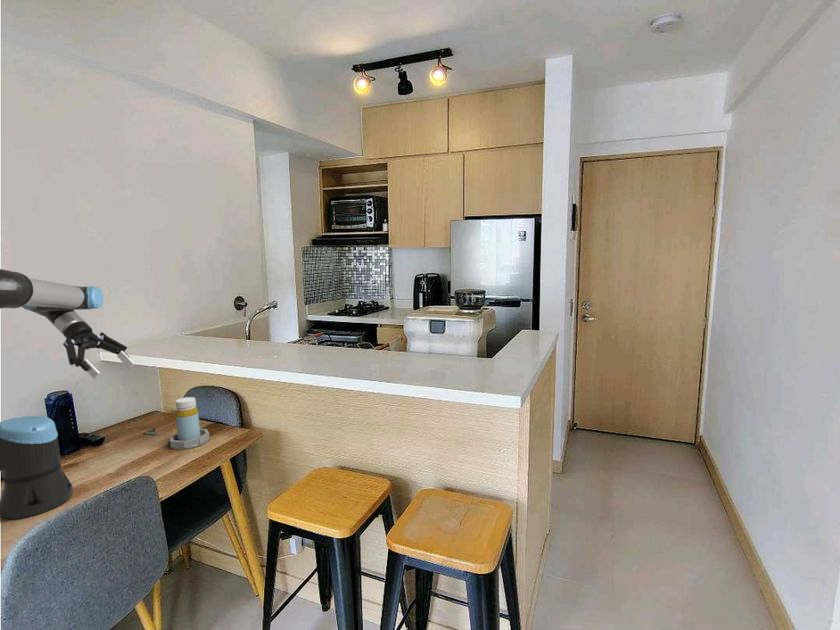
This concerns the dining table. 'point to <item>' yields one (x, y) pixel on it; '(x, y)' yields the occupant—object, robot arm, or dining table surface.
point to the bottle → (187, 419)
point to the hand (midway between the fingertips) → (115, 371)
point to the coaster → (189, 441)
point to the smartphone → (150, 432)
